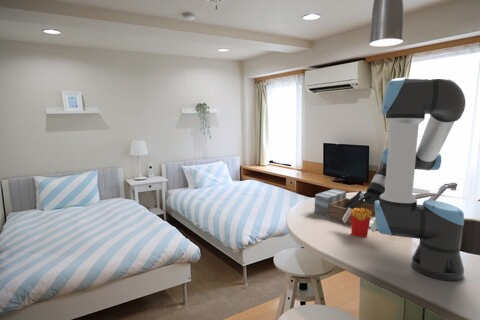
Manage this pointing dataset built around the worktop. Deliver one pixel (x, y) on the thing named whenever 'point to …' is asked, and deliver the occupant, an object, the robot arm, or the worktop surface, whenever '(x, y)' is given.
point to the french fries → (360, 222)
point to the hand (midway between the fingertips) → (357, 225)
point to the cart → (337, 205)
